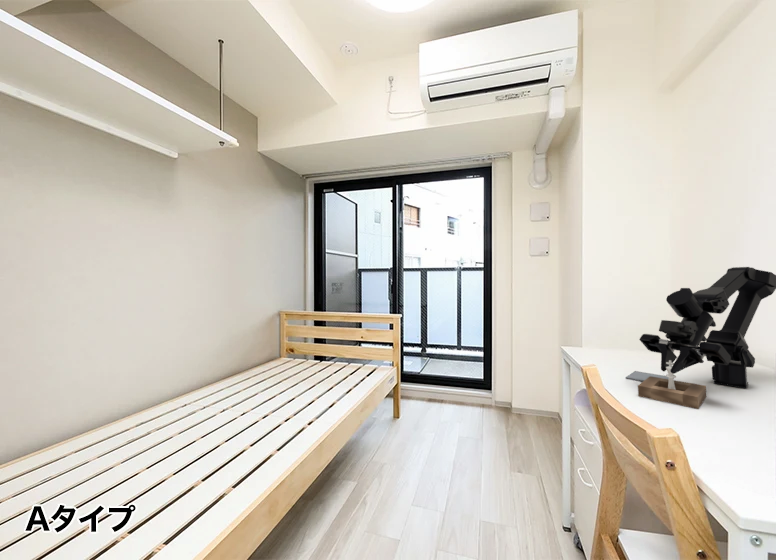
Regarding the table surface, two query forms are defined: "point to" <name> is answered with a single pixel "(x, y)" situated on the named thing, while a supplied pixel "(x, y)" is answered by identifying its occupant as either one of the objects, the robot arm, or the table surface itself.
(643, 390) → the socket block
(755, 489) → the table surface
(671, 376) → the chess piece
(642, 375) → the slate mat
